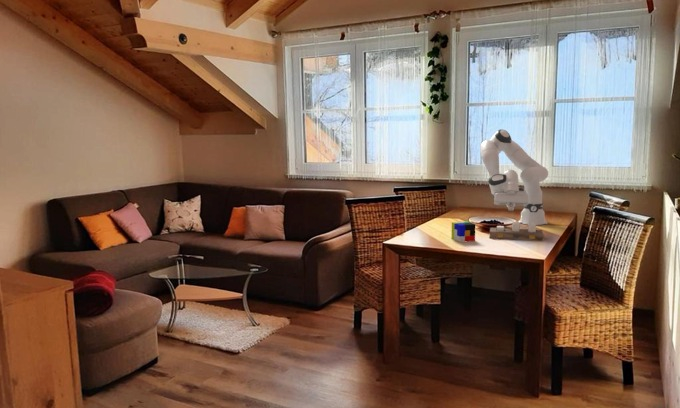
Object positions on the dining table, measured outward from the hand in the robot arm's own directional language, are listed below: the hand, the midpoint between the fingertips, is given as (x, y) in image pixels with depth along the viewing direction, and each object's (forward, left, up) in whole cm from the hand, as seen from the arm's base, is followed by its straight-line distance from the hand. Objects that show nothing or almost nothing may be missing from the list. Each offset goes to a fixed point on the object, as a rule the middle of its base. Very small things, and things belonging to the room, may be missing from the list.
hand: (511, 209), depth 314 cm
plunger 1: (+5, -6, -16) cm, 17 cm away
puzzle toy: (+19, -27, -16) cm, 37 cm away
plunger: (+5, +12, -13) cm, 18 cm away
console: (+5, +3, -16) cm, 17 cm away
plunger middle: (+5, +3, -13) cm, 14 cm away
